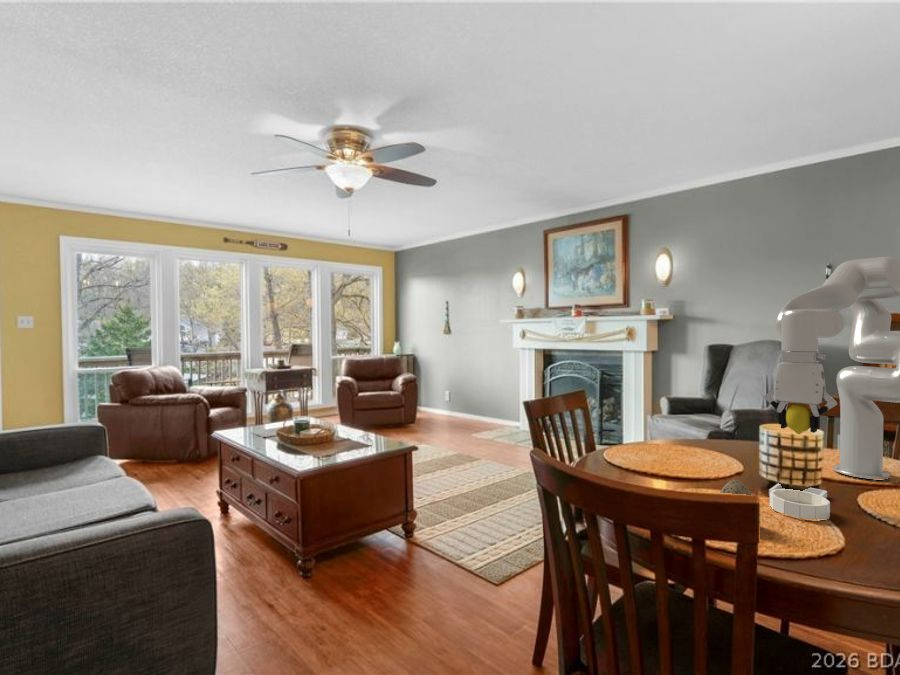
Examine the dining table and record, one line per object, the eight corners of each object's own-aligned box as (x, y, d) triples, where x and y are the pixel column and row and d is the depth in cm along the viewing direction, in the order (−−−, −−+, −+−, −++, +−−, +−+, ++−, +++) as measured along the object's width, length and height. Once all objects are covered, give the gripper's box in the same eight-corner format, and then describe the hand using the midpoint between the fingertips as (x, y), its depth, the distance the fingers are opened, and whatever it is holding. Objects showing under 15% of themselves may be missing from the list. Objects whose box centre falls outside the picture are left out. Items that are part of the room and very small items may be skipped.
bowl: (778, 499, 119) (778, 485, 119) (833, 512, 111) (834, 497, 111) (764, 510, 112) (764, 496, 112) (822, 525, 104) (822, 509, 103)
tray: (780, 487, 128) (780, 481, 128) (827, 496, 121) (827, 491, 121) (768, 495, 122) (768, 489, 122) (817, 506, 114) (817, 500, 114)
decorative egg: (713, 525, 104) (713, 479, 104) (722, 515, 109) (722, 472, 109) (750, 534, 99) (751, 487, 99) (758, 524, 104) (759, 479, 104)
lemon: (817, 437, 117) (817, 404, 117) (791, 436, 118) (791, 404, 118) (805, 432, 122) (805, 401, 122) (781, 431, 124) (781, 400, 123)
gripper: (846, 359, 116) (845, 433, 116) (765, 356, 129) (764, 422, 129) (839, 360, 111) (838, 437, 111) (755, 357, 124) (754, 426, 124)
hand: (798, 428), depth 120 cm, fingers closed on lemon, 5 cm apart
